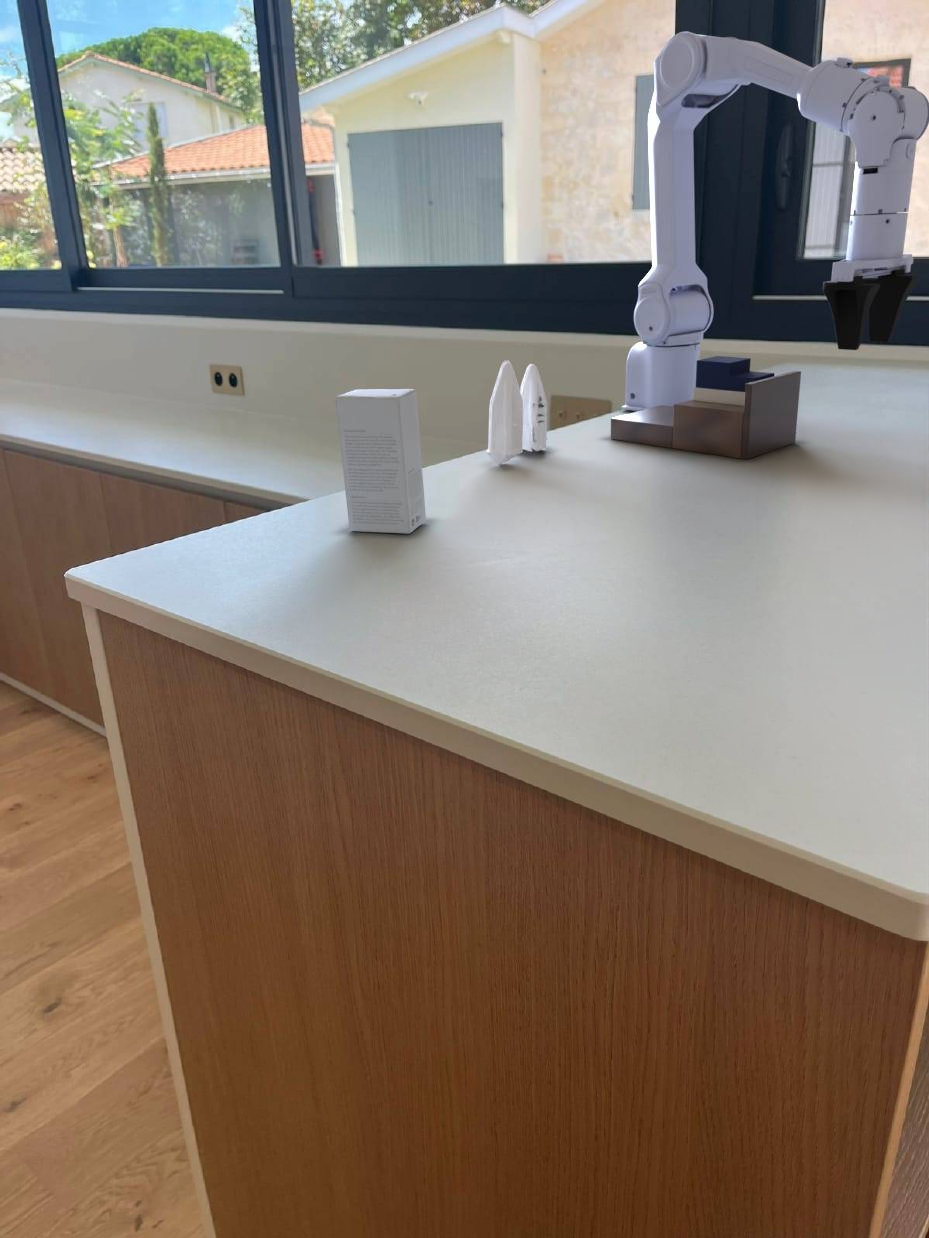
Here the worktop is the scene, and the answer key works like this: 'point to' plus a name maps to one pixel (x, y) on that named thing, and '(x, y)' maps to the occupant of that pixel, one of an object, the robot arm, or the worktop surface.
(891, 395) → the worktop surface
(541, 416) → the shaker set
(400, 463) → the cosmetic box
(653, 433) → the step shelf
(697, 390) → the navy stepped block
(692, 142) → the robot arm
